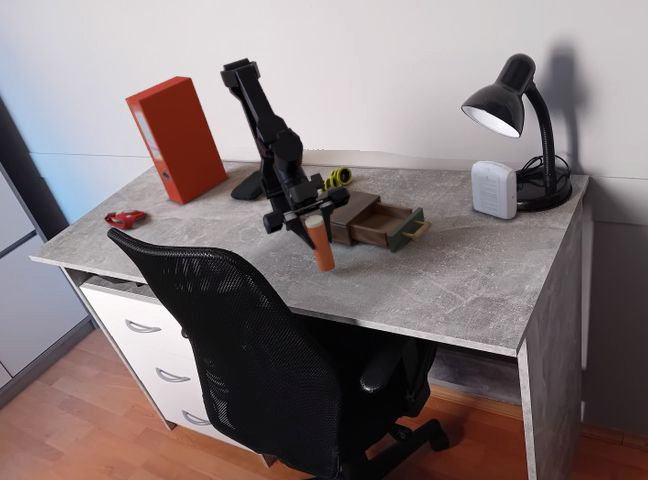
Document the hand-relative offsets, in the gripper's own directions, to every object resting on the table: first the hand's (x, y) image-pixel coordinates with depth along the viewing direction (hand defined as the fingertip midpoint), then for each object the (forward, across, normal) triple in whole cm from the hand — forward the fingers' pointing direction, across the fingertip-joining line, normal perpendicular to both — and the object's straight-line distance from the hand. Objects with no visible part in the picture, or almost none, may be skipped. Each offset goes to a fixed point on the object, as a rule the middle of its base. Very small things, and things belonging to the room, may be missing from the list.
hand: (322, 246), depth 113 cm
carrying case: (-33, -3, +45) cm, 56 cm away
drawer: (+1, +17, +9) cm, 19 cm away
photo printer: (+6, +41, +5) cm, 42 cm away
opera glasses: (-21, +16, +33) cm, 42 cm away
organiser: (-7, +10, +18) cm, 22 cm away
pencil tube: (+3, 0, +5) cm, 6 cm away
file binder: (-44, -19, +56) cm, 73 cm away
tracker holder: (-40, -42, +52) cm, 78 cm away
